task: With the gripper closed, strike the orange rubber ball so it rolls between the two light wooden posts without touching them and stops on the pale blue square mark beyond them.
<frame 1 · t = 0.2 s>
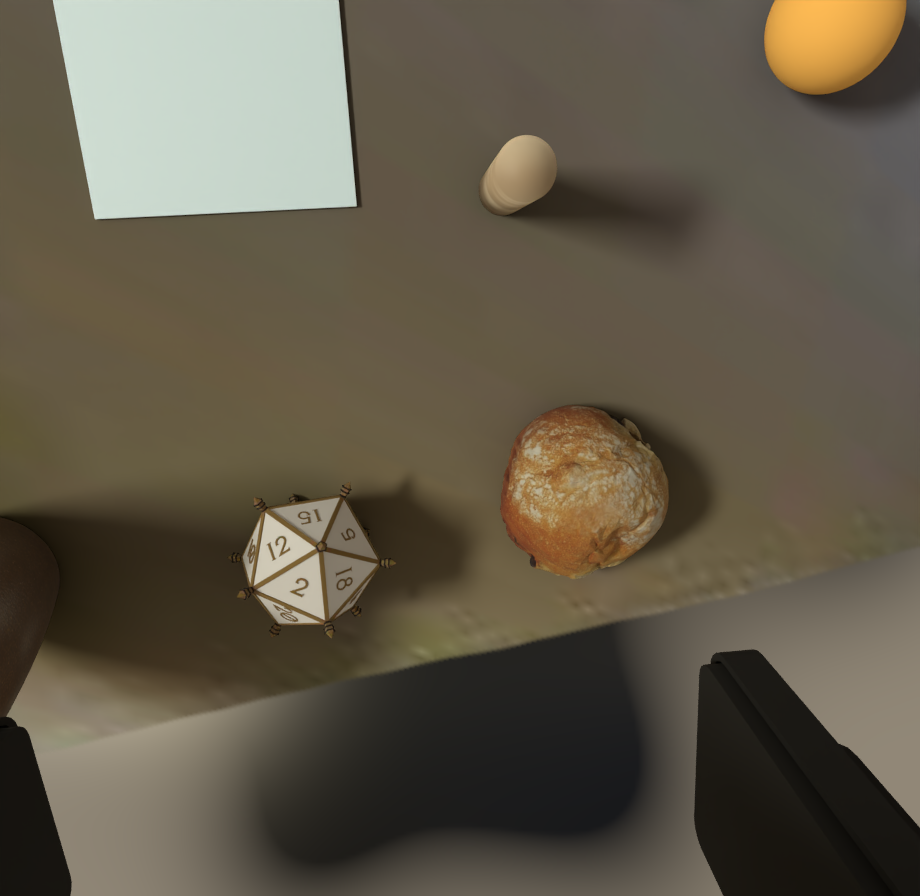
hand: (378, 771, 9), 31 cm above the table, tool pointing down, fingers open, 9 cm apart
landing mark: (207, 68, 34), on the table
game die: (321, 531, 42), on the table
ball: (832, 24, 32), on the table
post 1: (502, 190, 36), on the table
bread roll: (573, 484, 42), on the table
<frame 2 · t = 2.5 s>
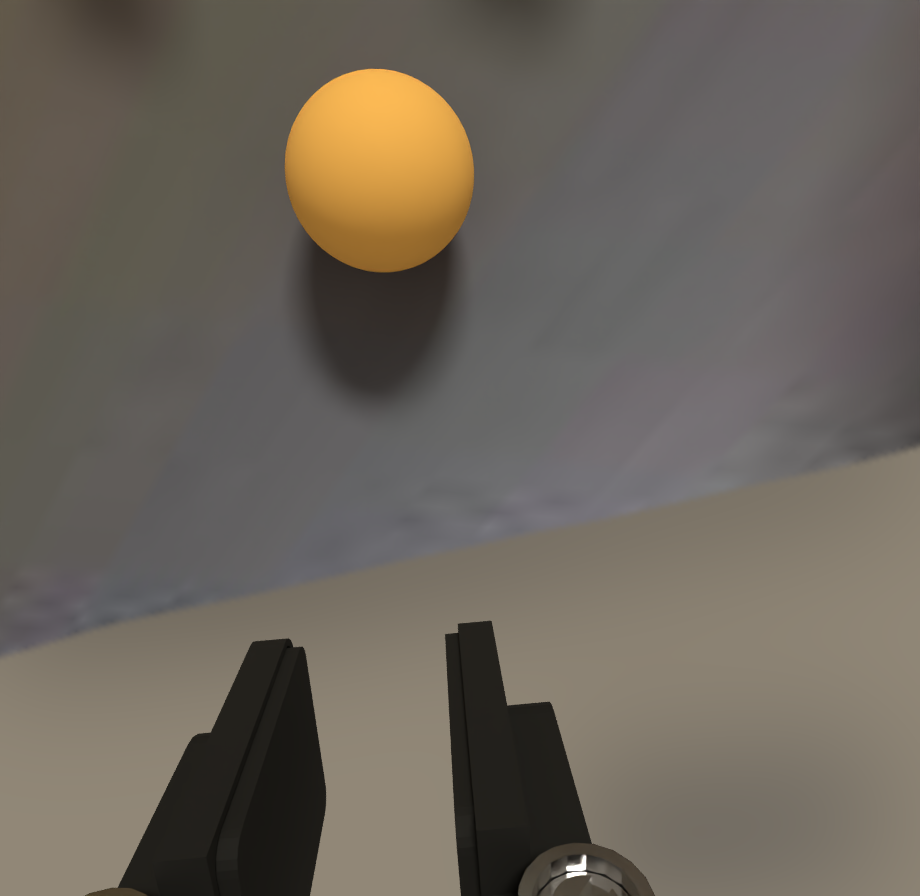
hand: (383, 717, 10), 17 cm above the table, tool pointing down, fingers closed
ball: (381, 176, 21), on the table
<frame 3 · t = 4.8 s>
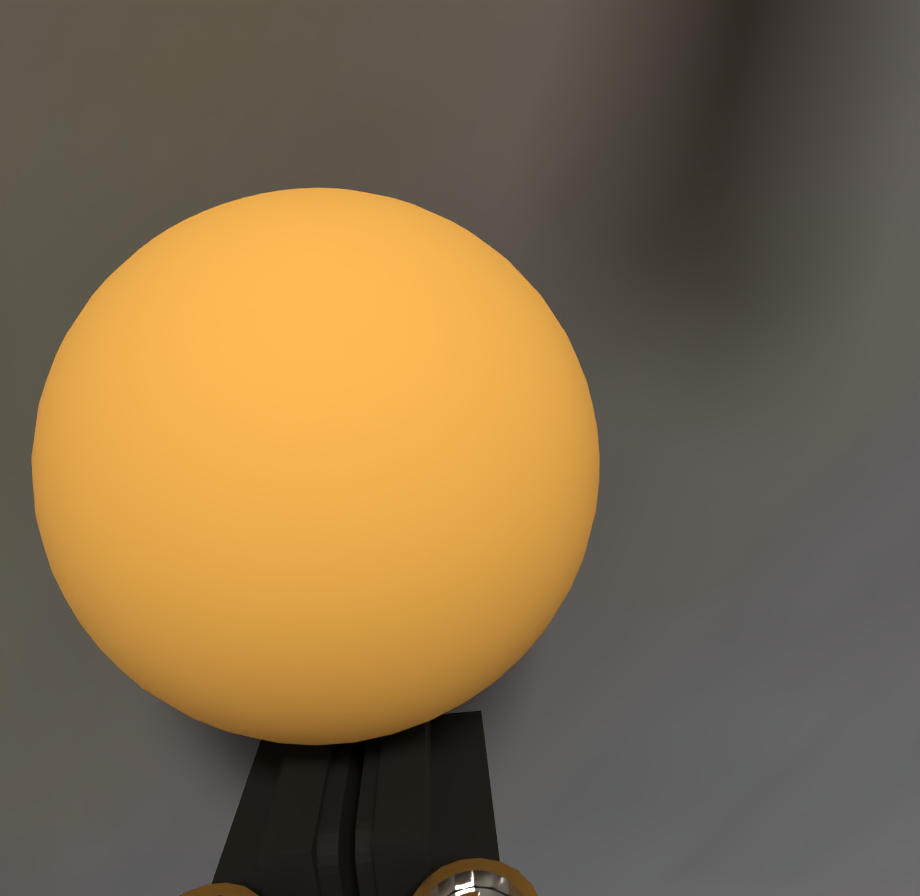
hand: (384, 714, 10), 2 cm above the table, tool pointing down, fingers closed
ball: (337, 463, 8), on the table
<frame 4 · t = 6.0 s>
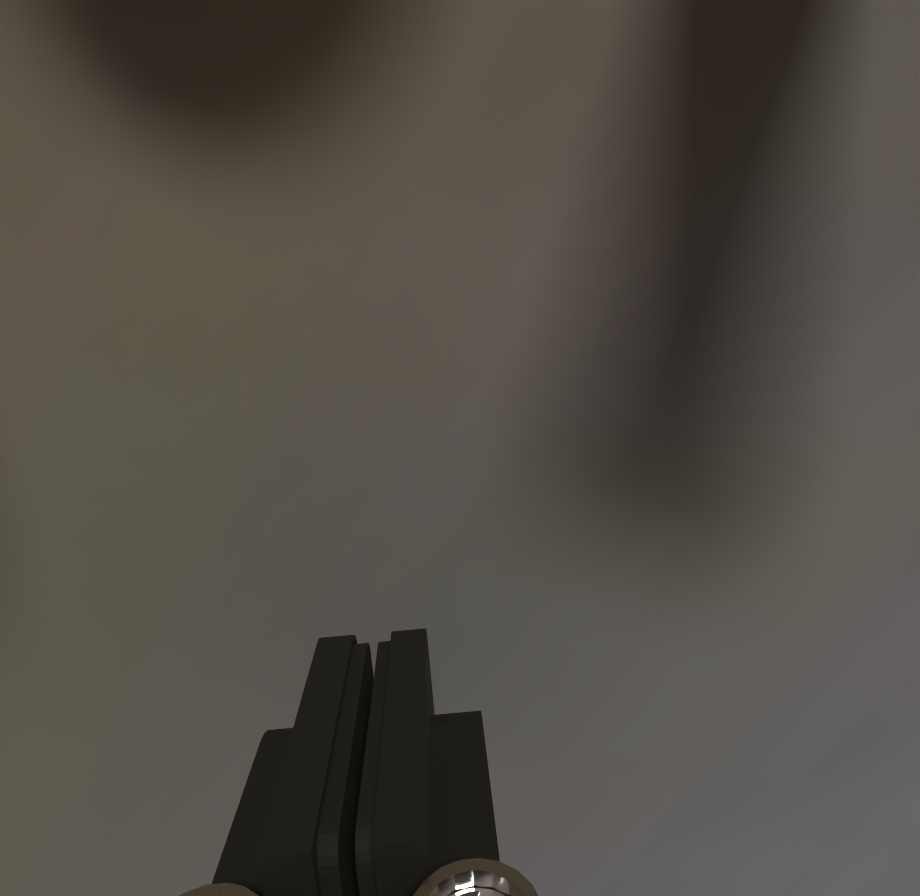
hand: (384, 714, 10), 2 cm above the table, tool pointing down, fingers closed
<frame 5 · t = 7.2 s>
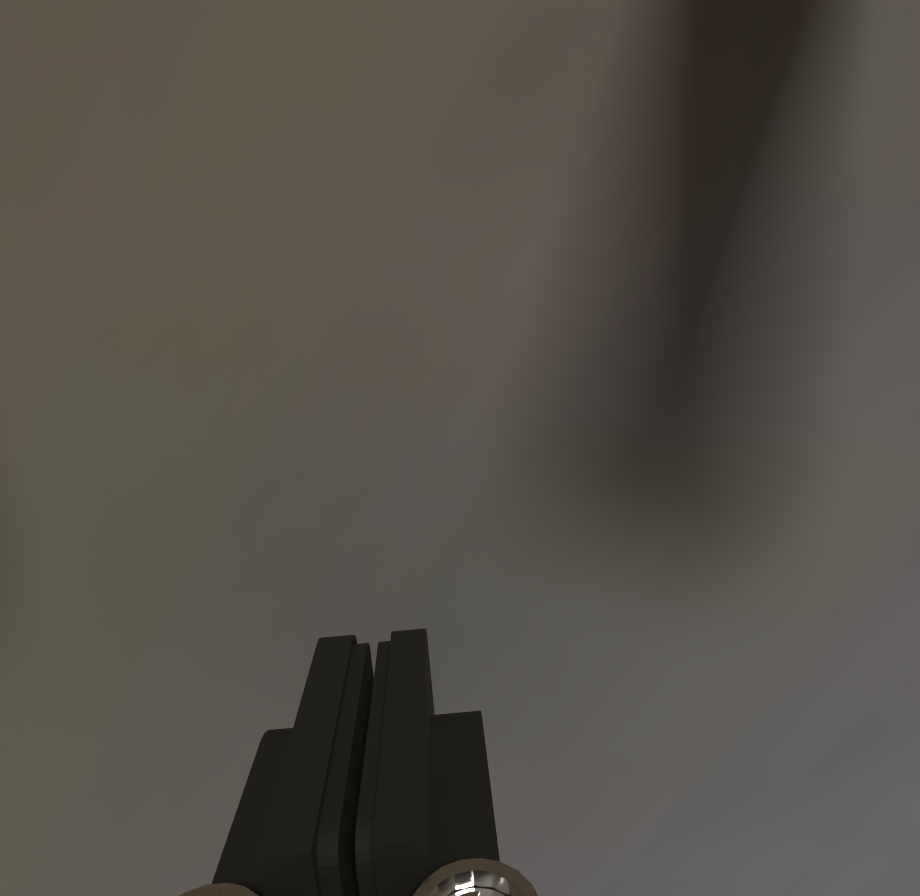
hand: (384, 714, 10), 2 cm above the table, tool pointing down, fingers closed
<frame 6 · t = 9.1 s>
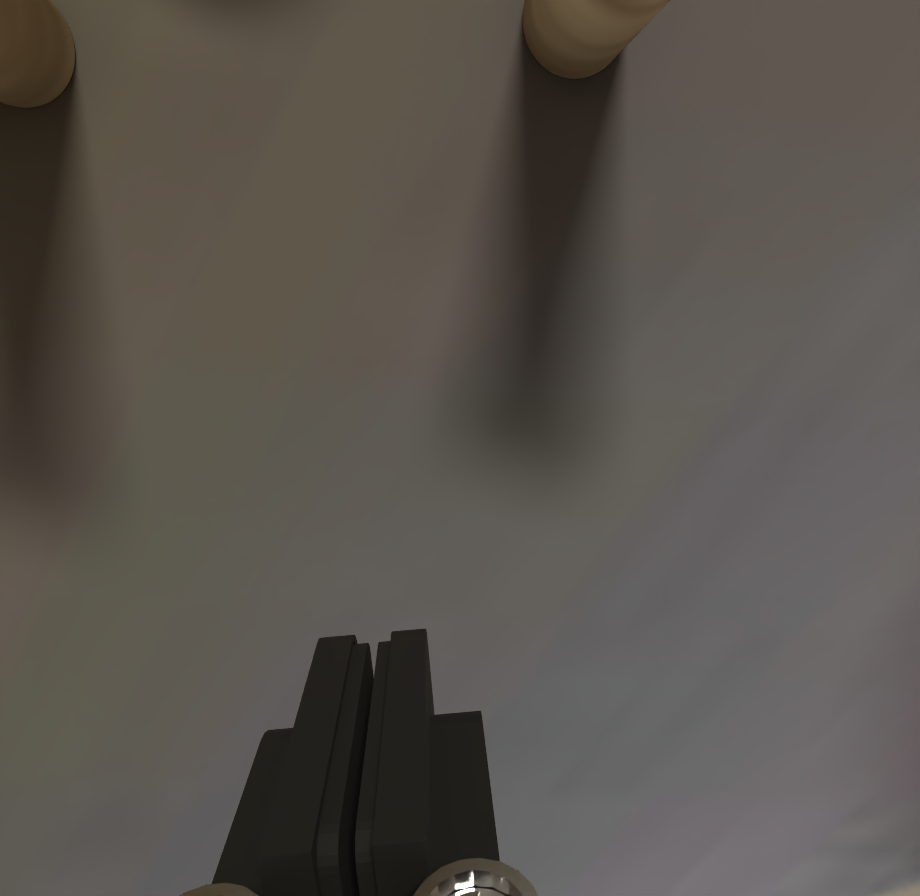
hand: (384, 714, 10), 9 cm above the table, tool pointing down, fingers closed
post 2: (575, 19, 16), on the table
post 1: (15, 46, 15), on the table
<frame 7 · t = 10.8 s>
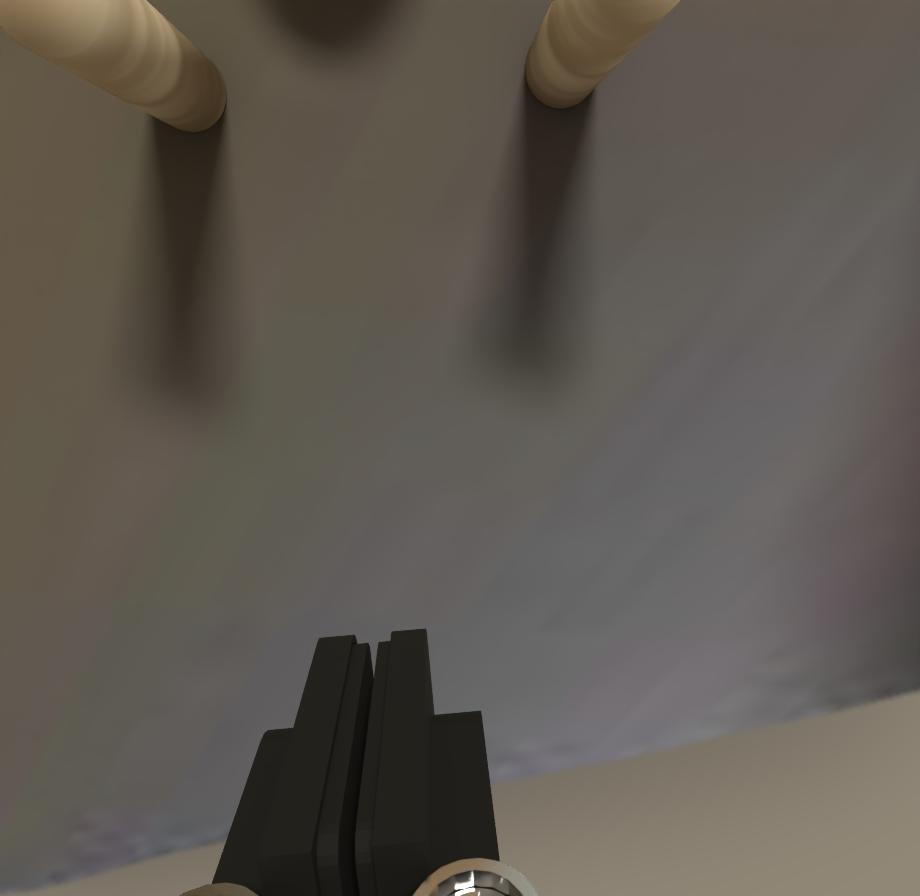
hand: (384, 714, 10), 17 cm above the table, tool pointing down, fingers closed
post 2: (561, 68, 23), on the table
post 1: (188, 91, 23), on the table
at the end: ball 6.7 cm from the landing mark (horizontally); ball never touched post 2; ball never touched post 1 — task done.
